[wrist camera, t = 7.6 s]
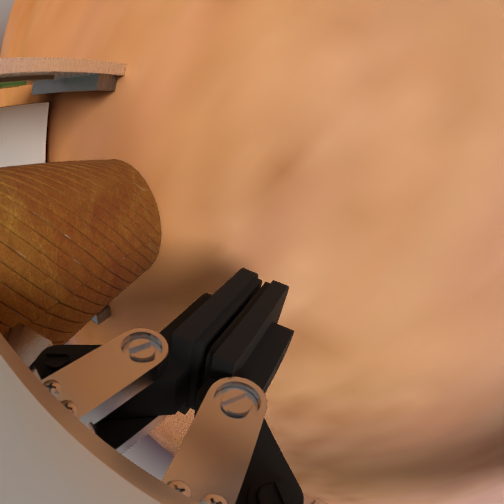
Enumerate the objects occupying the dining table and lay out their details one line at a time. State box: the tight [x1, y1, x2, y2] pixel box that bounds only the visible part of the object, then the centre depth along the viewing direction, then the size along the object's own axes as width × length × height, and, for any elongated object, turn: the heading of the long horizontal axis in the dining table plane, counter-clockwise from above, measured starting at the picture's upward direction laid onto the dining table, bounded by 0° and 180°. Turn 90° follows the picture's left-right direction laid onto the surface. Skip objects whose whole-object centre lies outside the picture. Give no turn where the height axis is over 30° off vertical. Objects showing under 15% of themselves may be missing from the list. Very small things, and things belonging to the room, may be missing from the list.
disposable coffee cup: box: [0, 159, 161, 345], centre depth 9 cm, size 10×10×12 cm
